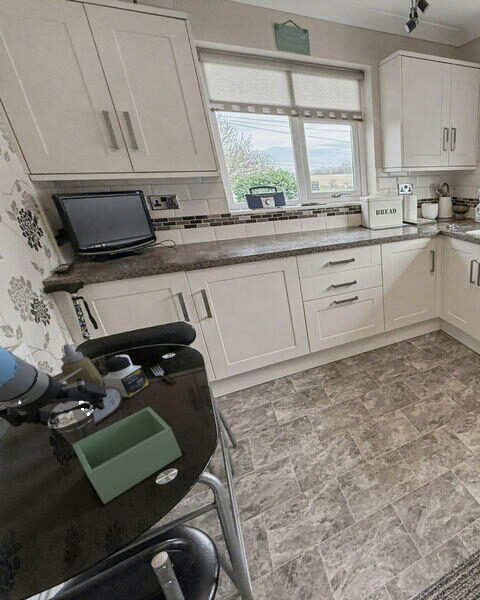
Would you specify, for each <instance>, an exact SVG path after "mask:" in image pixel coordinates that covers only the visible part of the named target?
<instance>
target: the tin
mask: <svg viewBox="0 0 480 600" xmlns="http://www.w3.org/2000/svg"><path fill="white" fill-rule="evenodd" d="M104 386H105V388H106V393H107V397H105V398H103V400H104V401H103V405H104V409H102V410H99V409H98V408H96V409H95V411H94V421H95V424H98V423H99V422H101V421H102V420H104V419H105V418H107V417H108V416H110V415H111V414H113V413H115V411H117V410H118V409H119V407H120V406H121V404H122V402H123V397H122V393H121V391H120V390H119V389H118V388H116V387H112V386H108V385H105V384H104ZM88 403H89V402H88Z"/></svg>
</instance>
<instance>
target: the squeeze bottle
mask: <svg viewBox="0 0 480 600" xmlns="http://www.w3.org/2000/svg"><path fill="white" fill-rule="evenodd" d="M62 347H63V353H64V355H63V356H62V357H61V362H62V365H61V366H60V369H61V373H62V375H63V378H65V377H67V376H68V375H70V374H72V373H73V372H75V371H77V370H78V369H80V368H82V369H83V370H82V371H81V372H79V373H77V374H76V375H74V376H72V377H71V378H69V379H68V380H66V381H65V384H67V385H69V384H72V383H74V382H76V379H78V378H84V380H85V381H88V382H91V383H95V384H98V385H101V386H104V381H103V379H102V378H103V377H102V375H101V374H100V372H99V370H98V369H97V368H96V367H95V365H94V364H93V361H91V359H90V357H87V356H84V355H83V353H82V351H76V350H75V349H74V348H73V347H72V345H70V344H69V343H66V344H63V345H62Z"/></svg>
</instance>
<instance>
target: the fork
mask: <svg viewBox="0 0 480 600" xmlns="http://www.w3.org/2000/svg"><path fill="white" fill-rule="evenodd" d="M151 371H152V374H154V376H155V377H160V376H161V377H162V379H163V380H165V381H166V382H168V383H170V384H171V385H172V384H174V382H173V381H172V380H171V378H170V377H169V376H167V375H164V374H165V371H164V370H163V369H162V367H160V365H157V366H155V367H153V366H152V369H151Z"/></svg>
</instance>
